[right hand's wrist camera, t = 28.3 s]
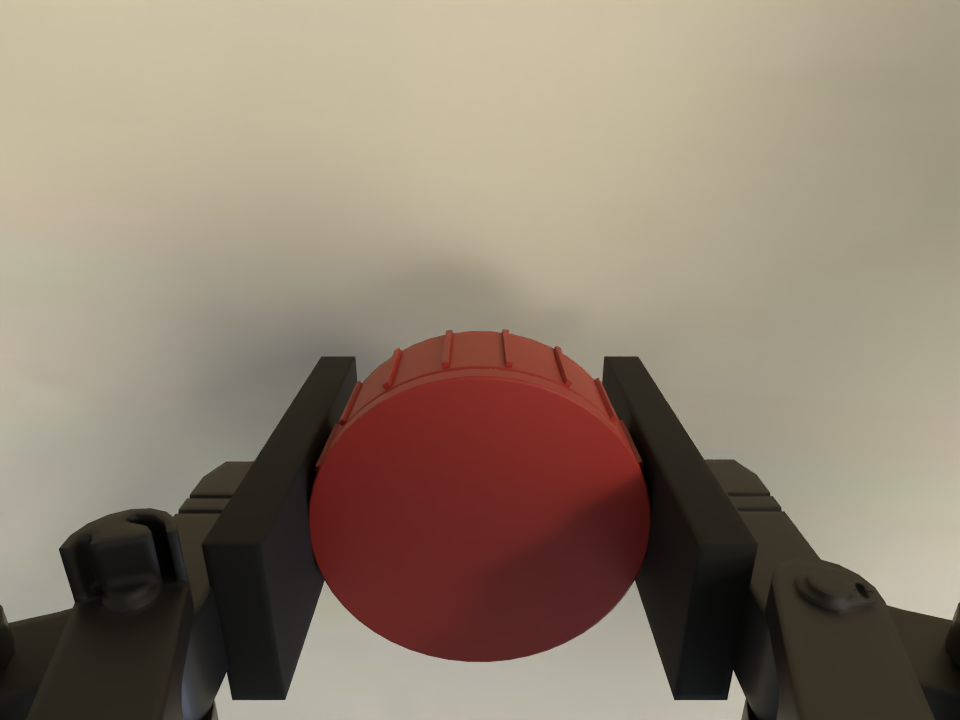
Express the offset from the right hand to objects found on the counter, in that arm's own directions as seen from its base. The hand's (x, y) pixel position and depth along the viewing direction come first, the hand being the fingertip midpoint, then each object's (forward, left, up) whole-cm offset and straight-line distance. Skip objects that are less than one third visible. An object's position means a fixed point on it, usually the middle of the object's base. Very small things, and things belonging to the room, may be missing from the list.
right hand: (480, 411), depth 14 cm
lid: (0, 0, +4) cm, 4 cm away
